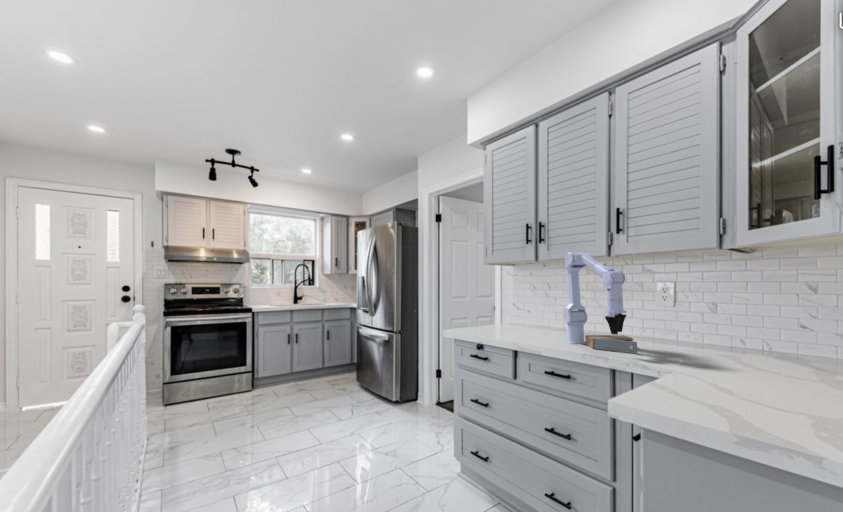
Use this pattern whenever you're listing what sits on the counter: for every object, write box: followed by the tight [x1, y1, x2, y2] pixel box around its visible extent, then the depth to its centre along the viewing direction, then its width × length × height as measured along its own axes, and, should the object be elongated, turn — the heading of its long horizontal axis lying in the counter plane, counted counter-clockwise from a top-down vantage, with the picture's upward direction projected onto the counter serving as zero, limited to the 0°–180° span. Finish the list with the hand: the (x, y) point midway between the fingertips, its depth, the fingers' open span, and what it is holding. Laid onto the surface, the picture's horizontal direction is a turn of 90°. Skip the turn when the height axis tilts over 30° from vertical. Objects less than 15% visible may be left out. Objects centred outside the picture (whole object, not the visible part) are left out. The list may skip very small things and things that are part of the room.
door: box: [593, 338, 638, 354], centre depth 155 cm, size 2×17×4 cm, turn 50°
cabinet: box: [584, 334, 634, 350], centre depth 165 cm, size 9×17×4 cm, turn 85°
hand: (616, 333), depth 150 cm, fingers open, 7 cm apart
